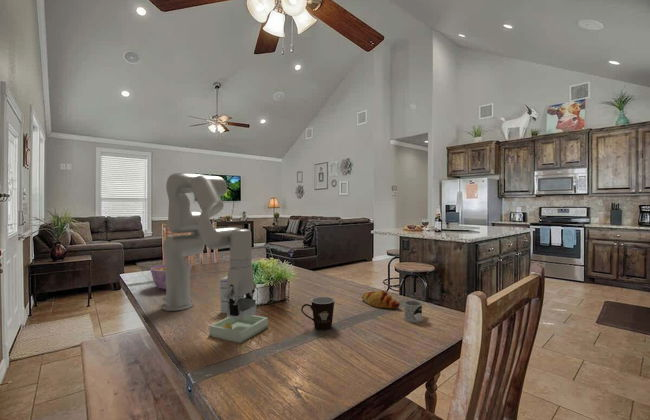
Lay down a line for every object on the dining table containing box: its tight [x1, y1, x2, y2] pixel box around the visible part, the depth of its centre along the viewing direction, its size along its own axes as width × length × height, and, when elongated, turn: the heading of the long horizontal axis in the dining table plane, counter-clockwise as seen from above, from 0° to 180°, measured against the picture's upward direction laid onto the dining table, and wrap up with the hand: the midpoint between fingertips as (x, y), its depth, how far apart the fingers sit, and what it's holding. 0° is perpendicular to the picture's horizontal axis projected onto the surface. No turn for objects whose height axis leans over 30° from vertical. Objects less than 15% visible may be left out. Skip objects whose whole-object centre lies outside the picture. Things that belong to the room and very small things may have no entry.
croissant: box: [361, 290, 401, 310], centre depth 144 cm, size 21×10×8 cm, turn 43°
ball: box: [223, 323, 232, 329], centre depth 112 cm, size 3×3×3 cm
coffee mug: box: [301, 296, 335, 331], centre depth 119 cm, size 12×9×10 cm
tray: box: [208, 314, 269, 344], centre depth 114 cm, size 14×15×4 cm
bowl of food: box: [150, 264, 192, 291], centre depth 172 cm, size 20×20×12 cm
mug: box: [403, 300, 423, 324], centre depth 126 cm, size 10×7×7 cm, turn 137°
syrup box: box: [219, 275, 235, 314], centre depth 136 cm, size 6×6×14 cm
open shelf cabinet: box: [226, 296, 257, 320], centre depth 115 cm, size 7×7×5 cm
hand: (241, 311), depth 115 cm, fingers closed on open shelf cabinet, 7 cm apart
